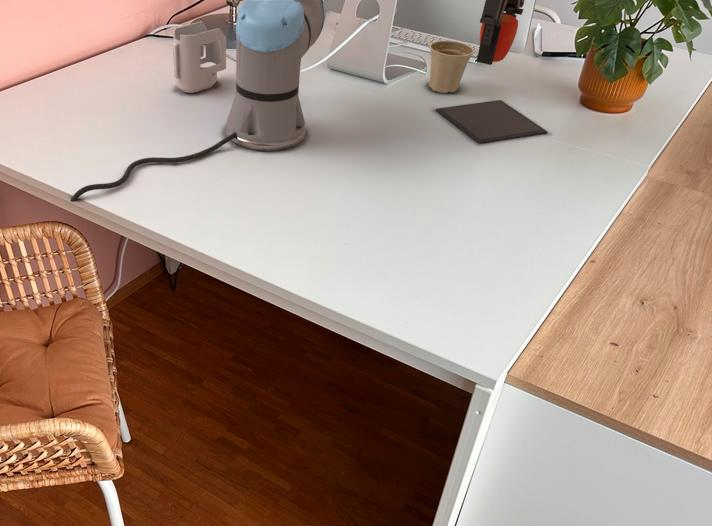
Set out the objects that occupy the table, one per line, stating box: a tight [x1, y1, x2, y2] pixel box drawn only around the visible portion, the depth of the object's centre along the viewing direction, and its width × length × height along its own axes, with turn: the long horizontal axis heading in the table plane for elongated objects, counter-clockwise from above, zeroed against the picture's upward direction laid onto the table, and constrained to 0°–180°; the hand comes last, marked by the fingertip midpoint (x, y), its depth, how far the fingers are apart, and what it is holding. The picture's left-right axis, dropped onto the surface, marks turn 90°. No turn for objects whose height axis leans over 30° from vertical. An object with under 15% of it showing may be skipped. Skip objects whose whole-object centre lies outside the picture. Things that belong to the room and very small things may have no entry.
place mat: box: [435, 99, 548, 145], centre depth 144 cm, size 16×16×1 cm
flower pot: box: [428, 40, 475, 94], centre depth 153 cm, size 9×9×9 cm
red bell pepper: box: [479, 14, 519, 63], centre depth 125 cm, size 6×6×8 cm
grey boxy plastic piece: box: [172, 20, 227, 94], centre depth 149 cm, size 7×12×12 cm, turn 135°
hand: (491, 57), depth 128 cm, fingers closed on red bell pepper, 6 cm apart
